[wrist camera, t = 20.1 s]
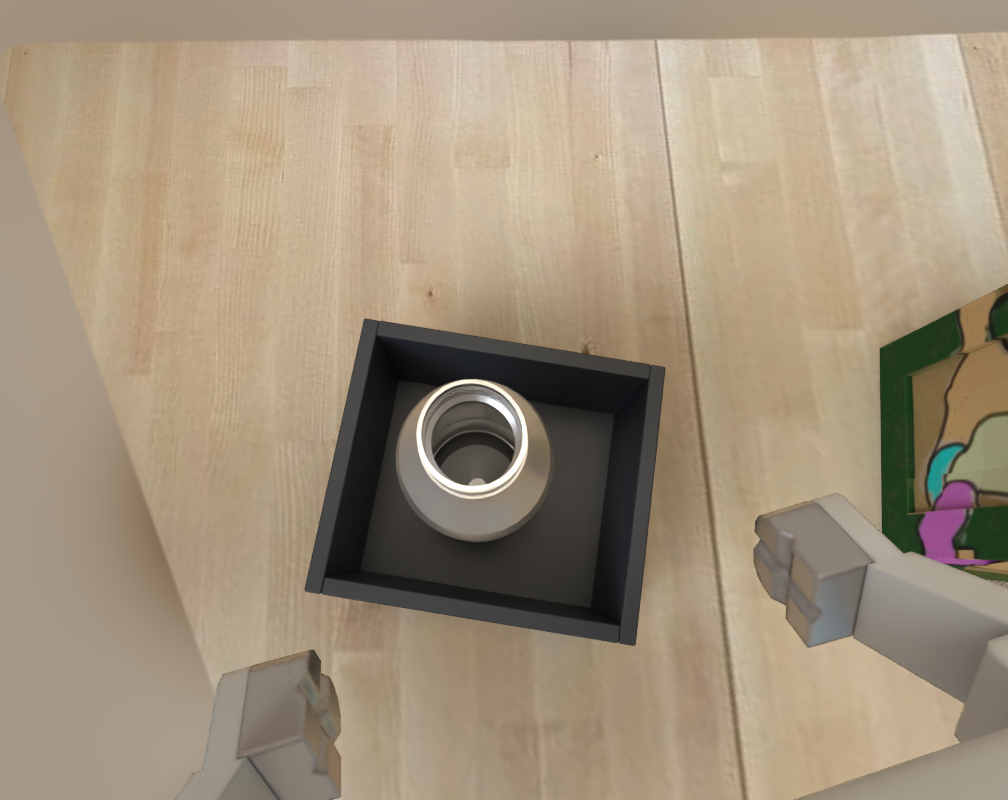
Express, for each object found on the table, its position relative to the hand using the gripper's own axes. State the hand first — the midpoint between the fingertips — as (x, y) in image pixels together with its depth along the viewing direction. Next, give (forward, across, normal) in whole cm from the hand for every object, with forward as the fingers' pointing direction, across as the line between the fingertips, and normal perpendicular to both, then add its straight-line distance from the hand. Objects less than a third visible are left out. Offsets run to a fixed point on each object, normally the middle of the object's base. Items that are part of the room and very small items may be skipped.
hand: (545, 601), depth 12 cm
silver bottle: (+24, 0, +17) cm, 29 cm away
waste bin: (+24, -1, +18) cm, 30 cm away
